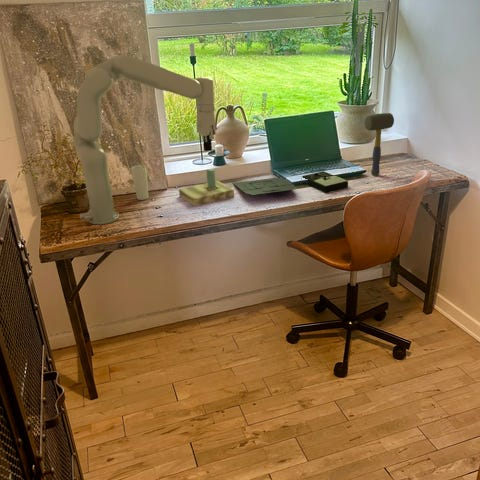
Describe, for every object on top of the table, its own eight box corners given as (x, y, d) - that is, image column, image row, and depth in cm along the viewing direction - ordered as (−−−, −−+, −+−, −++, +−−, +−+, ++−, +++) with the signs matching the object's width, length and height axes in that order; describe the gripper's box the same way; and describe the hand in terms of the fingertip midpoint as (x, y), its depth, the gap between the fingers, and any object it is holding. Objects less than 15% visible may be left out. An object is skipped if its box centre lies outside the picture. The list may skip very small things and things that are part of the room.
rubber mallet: (368, 179, 230) (372, 116, 217) (359, 175, 237) (363, 113, 224) (390, 175, 234) (396, 113, 221) (381, 171, 240) (386, 111, 227)
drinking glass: (136, 201, 217) (131, 170, 211) (135, 197, 223) (130, 166, 216) (151, 199, 218) (146, 168, 212) (149, 195, 224) (145, 164, 218)
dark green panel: (247, 201, 207) (247, 193, 206) (232, 188, 235) (232, 181, 234) (300, 194, 212) (300, 186, 211) (279, 182, 240) (279, 175, 239)
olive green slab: (194, 206, 208) (193, 199, 207) (179, 196, 221) (178, 189, 219) (234, 196, 217) (233, 189, 215) (217, 187, 230) (217, 180, 228)
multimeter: (323, 178, 237) (323, 168, 235) (348, 188, 221) (348, 178, 219) (301, 183, 231) (301, 173, 229) (325, 194, 216) (325, 183, 214)
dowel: (210, 197, 218) (208, 171, 213) (206, 194, 221) (204, 170, 216) (217, 195, 220) (215, 170, 214) (214, 193, 223) (212, 168, 217)
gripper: (190, 106, 207) (193, 148, 215) (205, 111, 196) (207, 155, 203) (205, 104, 211) (207, 145, 218) (221, 109, 199) (223, 152, 207)
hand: (207, 150), depth 211 cm, fingers closed
